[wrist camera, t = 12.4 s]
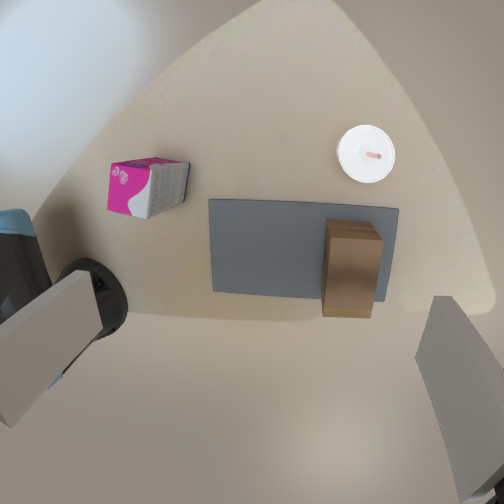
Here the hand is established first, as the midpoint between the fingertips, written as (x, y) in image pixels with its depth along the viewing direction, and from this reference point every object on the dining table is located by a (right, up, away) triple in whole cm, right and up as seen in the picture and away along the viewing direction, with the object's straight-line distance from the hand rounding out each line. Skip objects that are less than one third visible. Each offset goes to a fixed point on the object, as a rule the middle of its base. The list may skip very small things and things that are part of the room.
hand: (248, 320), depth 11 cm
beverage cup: (+13, +15, +26) cm, 33 cm away
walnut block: (+13, +2, +31) cm, 33 cm away
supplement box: (-12, +13, +32) cm, 36 cm away
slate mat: (+7, +2, +32) cm, 33 cm away
